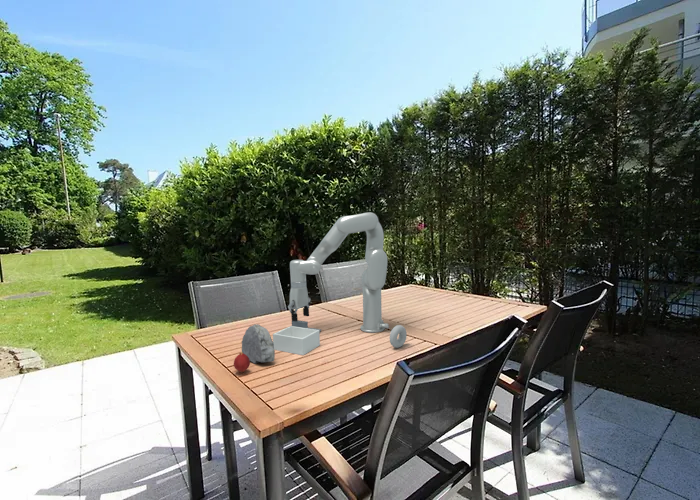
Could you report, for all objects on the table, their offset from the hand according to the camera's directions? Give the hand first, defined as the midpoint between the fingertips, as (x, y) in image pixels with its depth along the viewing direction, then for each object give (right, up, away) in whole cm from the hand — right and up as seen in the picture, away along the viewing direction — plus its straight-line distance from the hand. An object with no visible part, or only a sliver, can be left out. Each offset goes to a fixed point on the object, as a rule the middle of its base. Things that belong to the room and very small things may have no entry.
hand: (300, 318), depth 173 cm
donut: (+46, -9, -21) cm, 51 cm away
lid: (0, -8, +1) cm, 8 cm away
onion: (-16, -12, -43) cm, 48 cm away
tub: (+1, -9, -18) cm, 21 cm away
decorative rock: (-12, -11, -33) cm, 37 cm away
